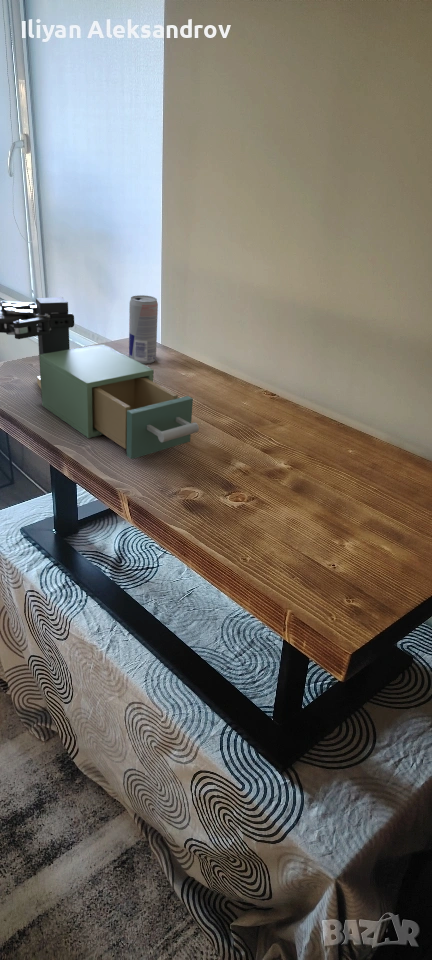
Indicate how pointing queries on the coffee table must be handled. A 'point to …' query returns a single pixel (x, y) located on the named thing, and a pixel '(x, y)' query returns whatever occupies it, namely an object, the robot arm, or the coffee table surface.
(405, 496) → the coffee table surface
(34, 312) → the robot arm
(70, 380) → the cabinet
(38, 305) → the black post
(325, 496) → the coffee table surface
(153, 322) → the energy drink
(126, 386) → the drawer
